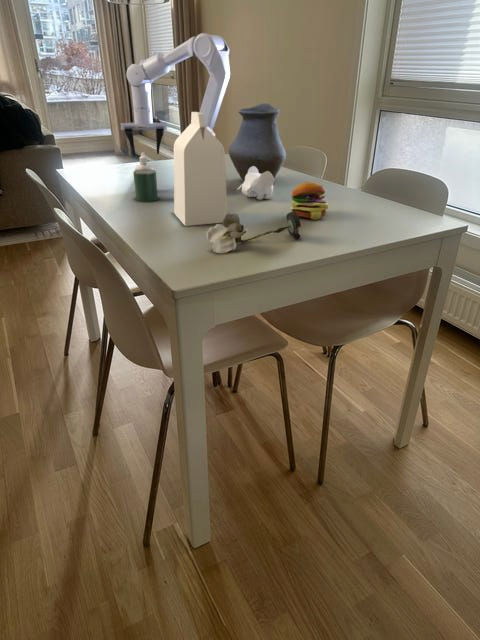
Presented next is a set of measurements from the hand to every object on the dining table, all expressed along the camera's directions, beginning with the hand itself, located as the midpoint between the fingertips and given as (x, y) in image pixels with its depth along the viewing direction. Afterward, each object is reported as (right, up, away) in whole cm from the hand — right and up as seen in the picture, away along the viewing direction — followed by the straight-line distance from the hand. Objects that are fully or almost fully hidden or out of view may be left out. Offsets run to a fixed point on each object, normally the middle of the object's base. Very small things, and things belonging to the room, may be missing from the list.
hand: (146, 153), depth 150 cm
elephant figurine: (+36, -17, -7) cm, 41 cm away
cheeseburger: (+50, -26, -22) cm, 60 cm away
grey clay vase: (+37, -4, +15) cm, 40 cm away
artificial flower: (+35, -38, -44) cm, 67 cm away
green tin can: (+2, -18, -10) cm, 21 cm away
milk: (+20, -27, -26) cm, 43 cm away
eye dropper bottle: (0, -13, -2) cm, 14 cm away
